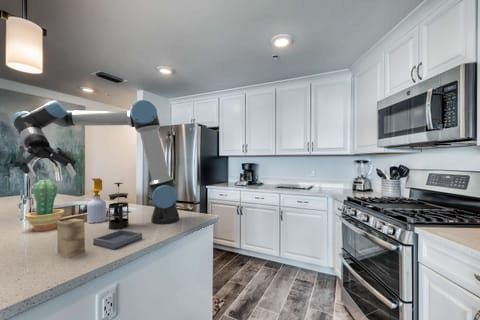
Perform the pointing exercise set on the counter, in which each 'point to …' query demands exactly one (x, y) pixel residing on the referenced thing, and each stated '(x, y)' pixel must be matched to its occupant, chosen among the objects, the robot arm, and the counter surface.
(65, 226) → the oak block
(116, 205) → the french press
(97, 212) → the soap bottle
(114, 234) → the slate tray
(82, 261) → the counter surface
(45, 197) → the potted cactus
